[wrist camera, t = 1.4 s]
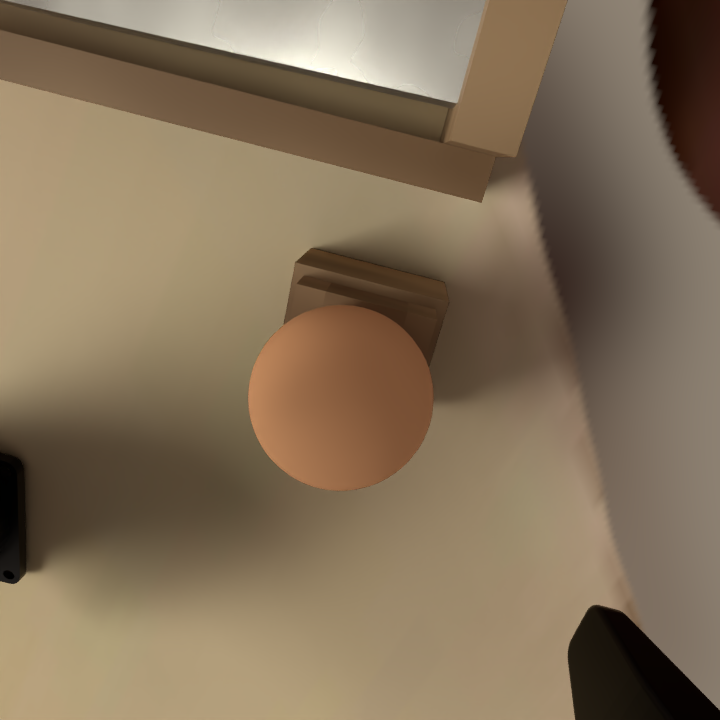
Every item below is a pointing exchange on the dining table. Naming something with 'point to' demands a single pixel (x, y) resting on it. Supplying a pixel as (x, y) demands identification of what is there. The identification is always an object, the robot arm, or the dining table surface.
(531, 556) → the dining table surface
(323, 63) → the chute
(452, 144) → the lane
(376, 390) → the ball
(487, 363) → the dining table surface
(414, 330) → the brown square frame
